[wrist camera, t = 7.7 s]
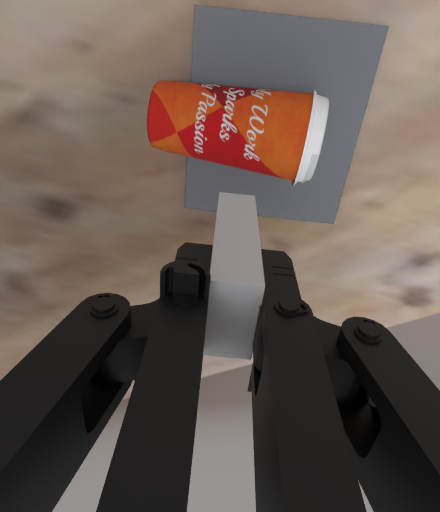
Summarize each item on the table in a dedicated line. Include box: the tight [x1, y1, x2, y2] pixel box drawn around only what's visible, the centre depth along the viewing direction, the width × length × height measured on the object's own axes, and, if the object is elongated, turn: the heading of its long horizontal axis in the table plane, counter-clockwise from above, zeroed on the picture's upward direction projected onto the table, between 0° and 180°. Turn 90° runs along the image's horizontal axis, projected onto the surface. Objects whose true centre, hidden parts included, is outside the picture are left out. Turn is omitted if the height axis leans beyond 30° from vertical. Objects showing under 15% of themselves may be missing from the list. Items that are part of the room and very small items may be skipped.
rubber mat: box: [185, 5, 389, 224], centre depth 35 cm, size 16×18×1 cm
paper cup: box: [147, 81, 329, 186], centre depth 31 cm, size 8×8×14 cm
